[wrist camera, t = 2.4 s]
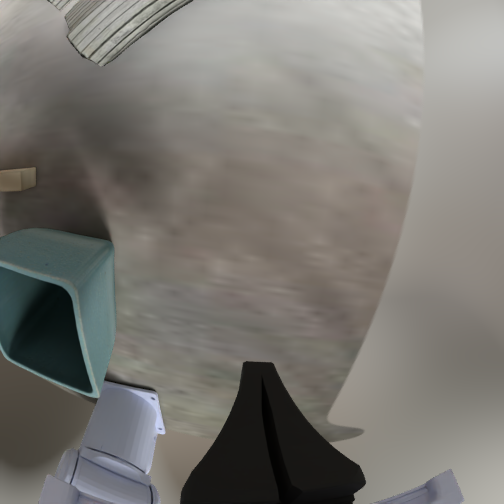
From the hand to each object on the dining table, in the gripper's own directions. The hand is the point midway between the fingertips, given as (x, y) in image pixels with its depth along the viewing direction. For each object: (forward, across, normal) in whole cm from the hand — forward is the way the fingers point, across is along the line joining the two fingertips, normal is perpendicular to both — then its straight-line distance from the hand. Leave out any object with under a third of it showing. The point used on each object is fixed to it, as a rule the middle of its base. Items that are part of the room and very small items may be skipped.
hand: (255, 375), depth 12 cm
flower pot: (+9, +13, 0) cm, 16 cm away
